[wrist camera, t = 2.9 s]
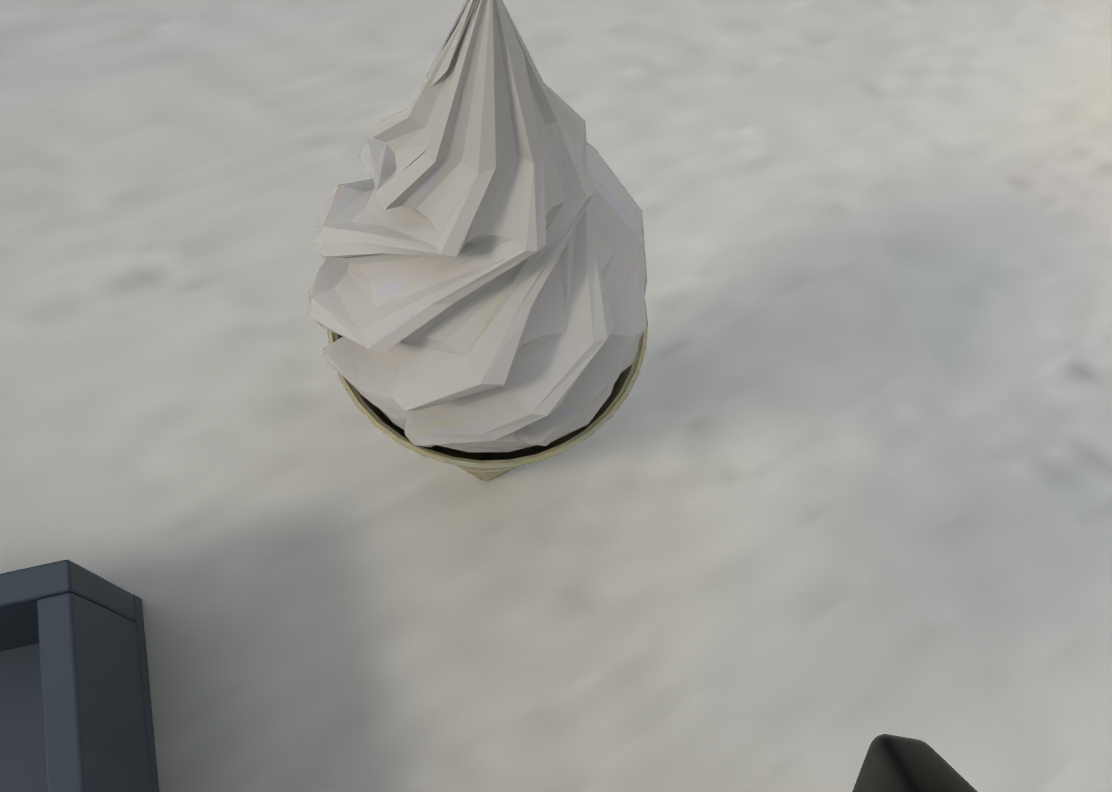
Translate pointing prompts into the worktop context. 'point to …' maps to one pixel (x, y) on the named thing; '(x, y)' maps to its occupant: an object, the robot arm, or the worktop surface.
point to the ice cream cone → (483, 265)
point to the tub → (73, 684)
